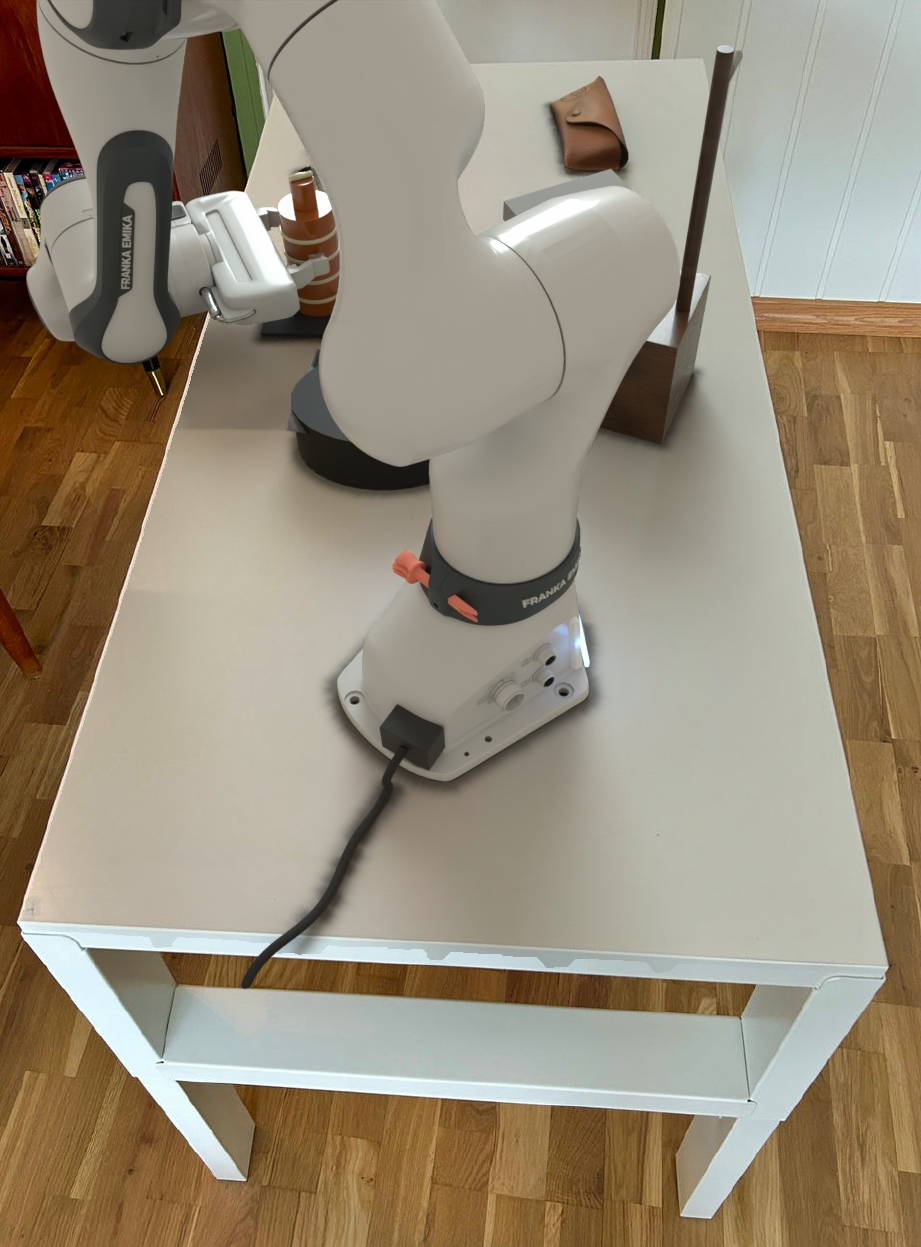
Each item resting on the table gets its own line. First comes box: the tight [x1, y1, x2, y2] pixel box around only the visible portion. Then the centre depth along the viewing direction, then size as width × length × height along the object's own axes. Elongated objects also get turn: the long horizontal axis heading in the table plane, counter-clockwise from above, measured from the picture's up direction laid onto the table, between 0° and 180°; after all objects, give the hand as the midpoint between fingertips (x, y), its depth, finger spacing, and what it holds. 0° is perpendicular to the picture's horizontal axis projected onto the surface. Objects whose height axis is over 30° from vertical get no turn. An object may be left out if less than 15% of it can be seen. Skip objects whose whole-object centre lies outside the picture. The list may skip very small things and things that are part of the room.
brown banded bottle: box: [276, 170, 340, 317], centre depth 117 cm, size 6×6×16 cm
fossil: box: [297, 165, 320, 191], centre depth 139 cm, size 8×2×1 cm, turn 17°
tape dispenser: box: [286, 348, 430, 491], centre depth 107 cm, size 14×18×8 cm
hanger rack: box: [599, 44, 744, 445], centre depth 99 cm, size 12×12×36 cm
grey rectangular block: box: [502, 169, 634, 222], centre depth 129 cm, size 10×4×15 cm
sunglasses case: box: [548, 75, 630, 172], centre depth 143 cm, size 18×7×7 cm
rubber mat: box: [260, 311, 332, 339], centre depth 123 cm, size 12×12×1 cm
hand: (313, 238), depth 117 cm, fingers open, 8 cm apart
